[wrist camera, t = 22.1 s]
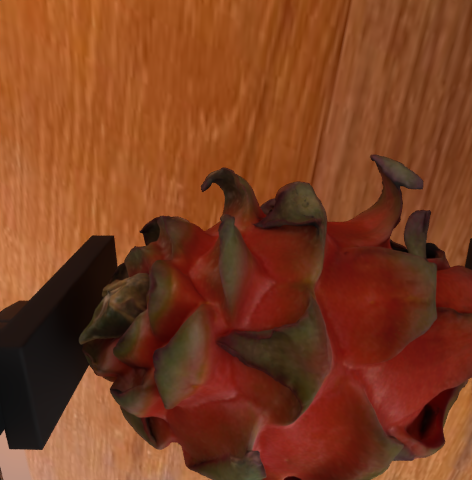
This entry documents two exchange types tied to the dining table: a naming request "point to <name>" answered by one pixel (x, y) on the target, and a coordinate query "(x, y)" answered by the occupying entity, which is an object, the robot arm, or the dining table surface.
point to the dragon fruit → (287, 335)
